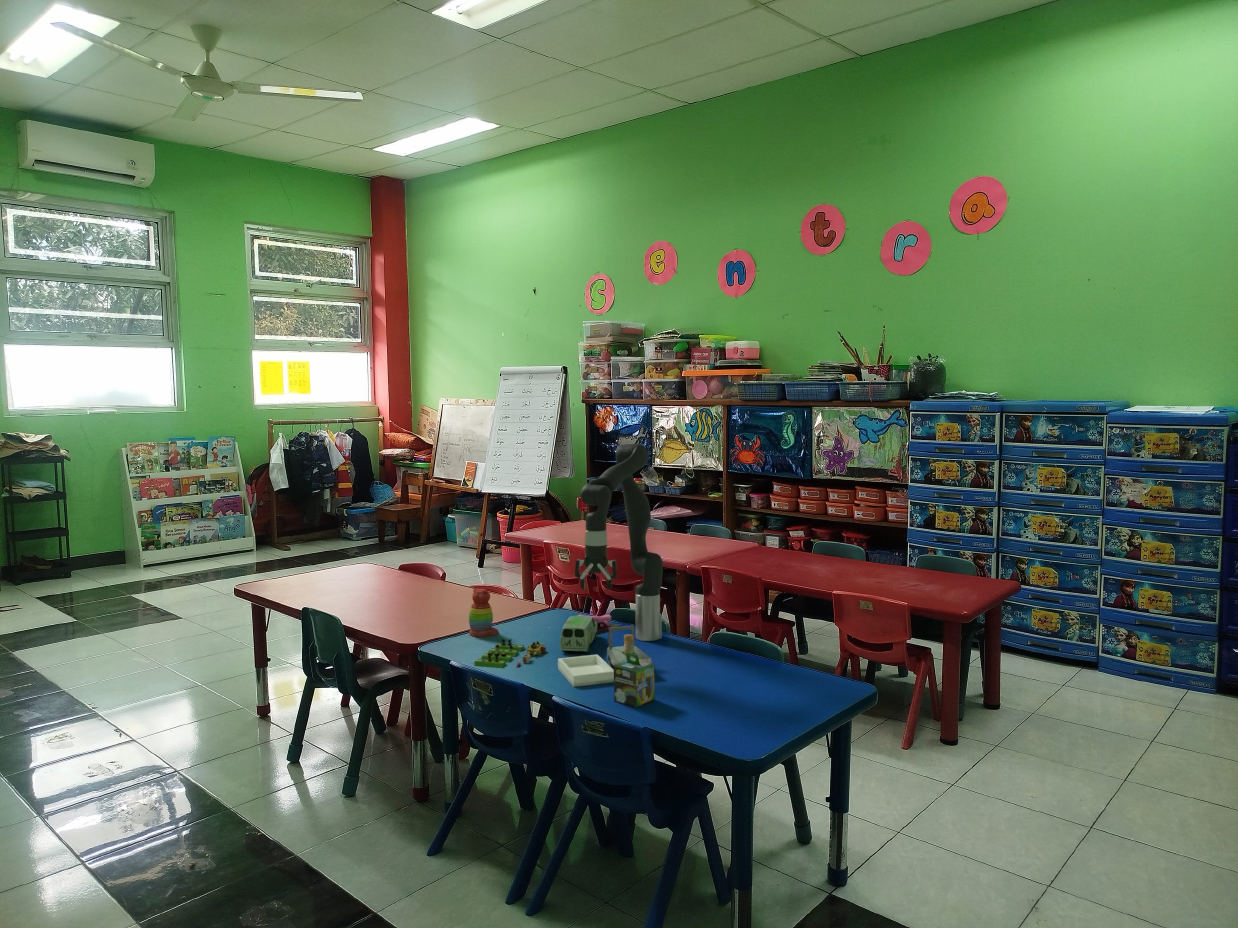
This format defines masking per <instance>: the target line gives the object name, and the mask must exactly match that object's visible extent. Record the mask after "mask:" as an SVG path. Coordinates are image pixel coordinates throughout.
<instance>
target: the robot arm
mask: <svg viewBox="0 0 1238 928" xmlns="http://www.w3.org/2000/svg"><path fill="white" fill-rule="evenodd" d="M648 459H649V454H648V449H647V448H646V445H644V444H641V443H628V444H627V443H626V444H619V445H617V447H616V450H615V463H616V464H615V465H613V466H610V467H609V468H608V469H606V470H605V471H604V472H603V473H602V474H601V475H600V476H599V477H598V478H595V479H592V480H591V481H589V482H587V483H586V484H584V486H583V487H582V488H581V491H580V500H581V503H583V504H584V505H585V506H595V507H596V506H597V508H596V509H597V510H596V511H592V512H588V513H587V514H586V516H585V534H584V559H580V558H577V559H576V561H575V565H574V566H575V570H574V571H575V572H574V578H578V579H579V580H580V588H581V590H582V591H585V589H586V578H585V577H586V576H587V575H588V573H591V574H594V573H597V574H600V573H602V574H603V575H604V576H605V578H606V579H607V580H606V591H610V589H612V583H613V582H612V581H613V579H616V578H617V575H618V572H617V571H618V570H617V560H616V559H612V560H608V535H607V534H608V533H607V517H608V512H609V509H610V504H611V503H612V493H613V492H615V490H617V488H618V487H619V486H620V485H621V490H622V493H623V500H624V508H625V509H624V511H625V517H626V521H627V527H628V529H627V530H628V535H629V544H630V545H629V547H630V564H631V569H632V570H633V572H635V574H638V575H640V576H643V580H642V583H640V584H637V585H636V586H635V631H634V635H635V638H636V640H638V641H642V642H644V641H645V642H651V641H657V640H661V639H662V638H663V637H662V636H663V635H662V631H663V629H662V624H663V623H662V620H663V619H662V617H663V616H662V613H661V612H660V611H661V605H660V604H661V602H660V600H661V599H660V598H661V597H660V595H661V594H660V593H661V587H662V586H663V585H662V584H663V573H664V571H663V567H664V564H663V558H662V557H661V555H660V554H658V553H656V552H651V551H648V547H647V541H646V538H647V537H646V536H647V532H648V529H649V527H650V524H651V521H652V516H651V515H652V514H651V507H650V502H649V499H648V497H647V495H646V494H645V493H644V491H643V490H642V488H640V486H639V485H638V483H637V482H636V481H635V478H634V474H635V473H637V472H638V471H639V470H641V469H642V468H644V467H645V466H646V465H647V463H648V461H649V460H648ZM583 564H584V566H585V567H586V568H585V569H584V571H583V572H582V574H581V573H580V570H581V569H580V568H581V566H583ZM608 565H609V566H610V567H611V569H612V574H610V572H609V570H608V569H607V566H608Z"/></svg>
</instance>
